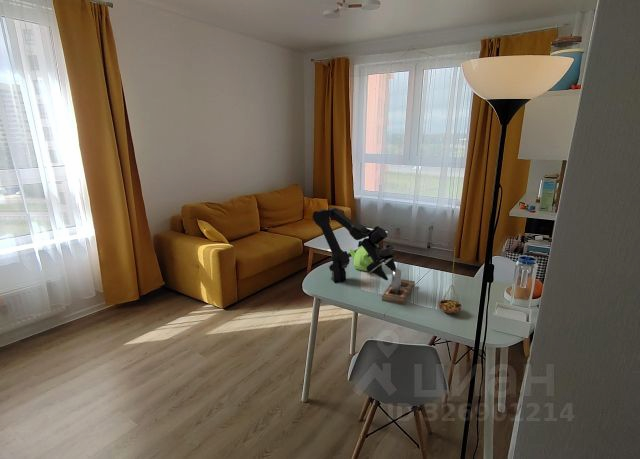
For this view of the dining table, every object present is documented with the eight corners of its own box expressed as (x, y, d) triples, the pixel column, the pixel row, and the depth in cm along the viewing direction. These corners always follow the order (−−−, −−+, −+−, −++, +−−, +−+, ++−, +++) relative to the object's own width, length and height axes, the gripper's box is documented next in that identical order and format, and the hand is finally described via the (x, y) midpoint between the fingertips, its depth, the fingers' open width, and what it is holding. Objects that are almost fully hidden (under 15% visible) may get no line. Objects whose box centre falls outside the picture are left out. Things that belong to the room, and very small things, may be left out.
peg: (392, 299, 157) (393, 273, 154) (390, 295, 161) (391, 269, 158) (401, 299, 157) (402, 272, 154) (399, 295, 161) (400, 269, 158)
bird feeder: (462, 318, 140) (469, 248, 132) (439, 316, 142) (445, 247, 134) (458, 308, 148) (464, 241, 140) (437, 306, 150) (442, 241, 142)
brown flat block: (403, 305, 152) (403, 299, 151) (381, 300, 156) (381, 295, 155) (414, 286, 171) (414, 281, 170) (394, 282, 175) (394, 277, 174)
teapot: (342, 271, 191) (342, 249, 188) (355, 260, 208) (356, 239, 205) (374, 276, 183) (374, 253, 180) (385, 264, 200) (385, 243, 197)
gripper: (372, 245, 150) (394, 274, 146) (392, 235, 164) (413, 261, 160) (357, 258, 157) (377, 286, 153) (378, 247, 171) (397, 273, 167)
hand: (392, 276), depth 158 cm, fingers open, 9 cm apart
